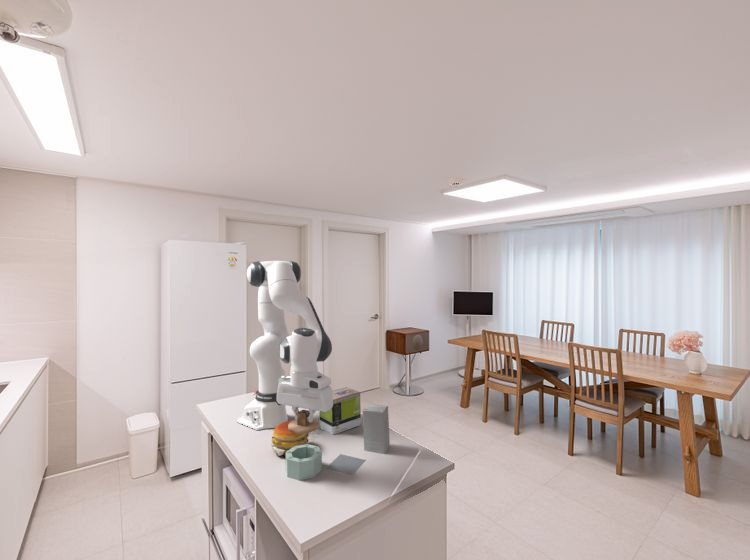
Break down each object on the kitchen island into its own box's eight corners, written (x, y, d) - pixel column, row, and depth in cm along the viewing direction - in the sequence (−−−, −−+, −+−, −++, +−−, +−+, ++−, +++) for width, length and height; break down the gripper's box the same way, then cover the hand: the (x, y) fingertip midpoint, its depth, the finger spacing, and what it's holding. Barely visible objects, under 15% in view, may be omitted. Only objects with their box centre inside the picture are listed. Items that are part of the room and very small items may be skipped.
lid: (281, 430, 111) (281, 414, 111) (300, 419, 120) (300, 404, 120) (307, 435, 107) (307, 419, 107) (325, 423, 116) (325, 408, 116)
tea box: (347, 419, 157) (347, 386, 157) (361, 426, 149) (361, 391, 149) (318, 428, 147) (318, 393, 147) (332, 436, 140) (332, 399, 140)
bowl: (279, 475, 111) (279, 456, 111) (299, 459, 121) (299, 442, 121) (307, 483, 106) (308, 464, 107) (326, 466, 117) (327, 448, 117)
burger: (315, 445, 132) (315, 418, 132) (294, 462, 119) (294, 433, 119) (286, 438, 137) (286, 413, 137) (263, 454, 124) (263, 426, 124)
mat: (325, 469, 115) (325, 467, 115) (340, 455, 124) (340, 454, 124) (352, 475, 111) (352, 474, 111) (365, 461, 120) (365, 459, 120)
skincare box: (389, 447, 130) (390, 405, 130) (384, 456, 124) (384, 411, 124) (368, 443, 133) (368, 402, 133) (361, 452, 126) (362, 408, 126)
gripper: (272, 377, 115) (272, 419, 115) (325, 384, 107) (325, 429, 107) (284, 372, 121) (284, 412, 121) (335, 379, 113) (335, 422, 113)
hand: (304, 420), depth 114 cm, fingers closed on lid, 3 cm apart
